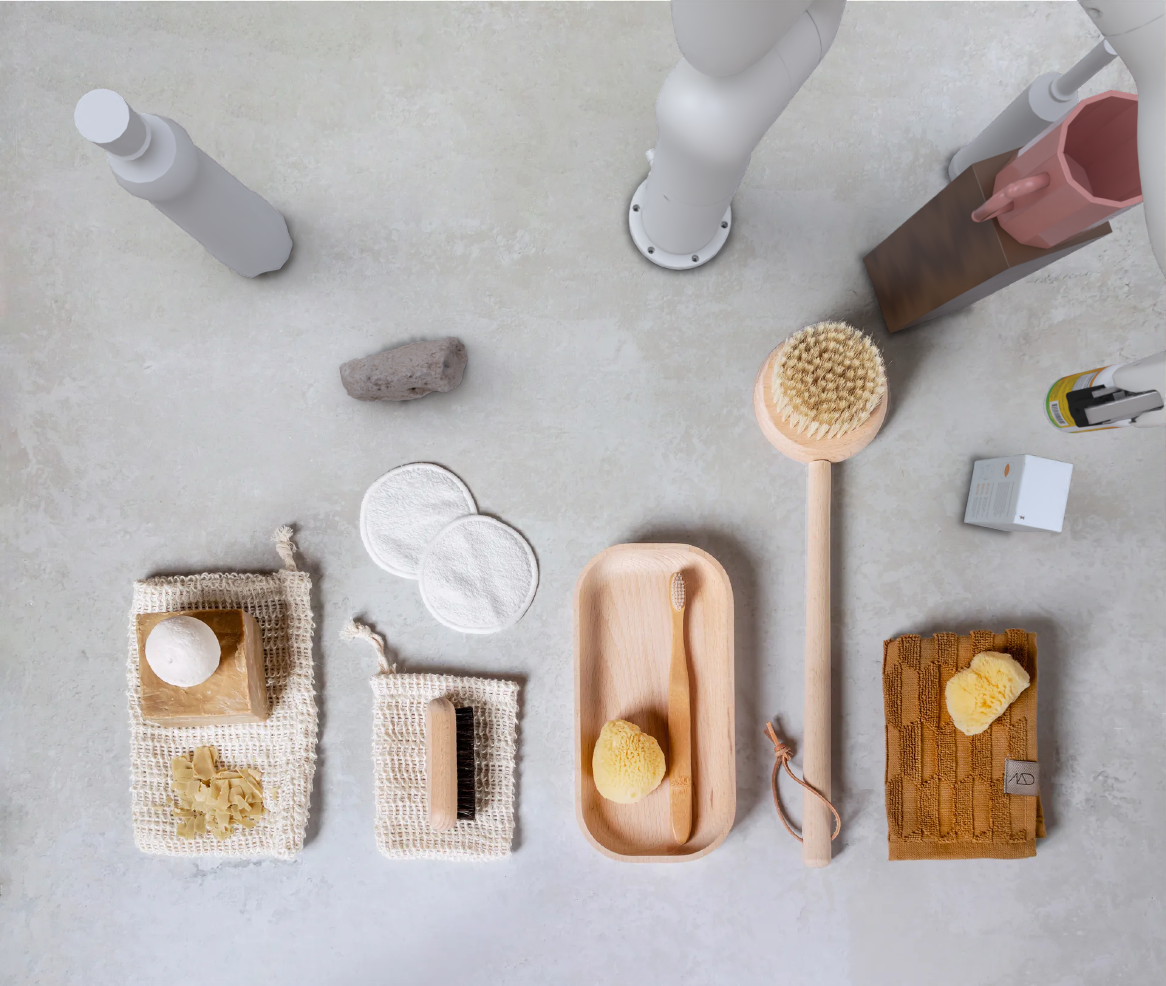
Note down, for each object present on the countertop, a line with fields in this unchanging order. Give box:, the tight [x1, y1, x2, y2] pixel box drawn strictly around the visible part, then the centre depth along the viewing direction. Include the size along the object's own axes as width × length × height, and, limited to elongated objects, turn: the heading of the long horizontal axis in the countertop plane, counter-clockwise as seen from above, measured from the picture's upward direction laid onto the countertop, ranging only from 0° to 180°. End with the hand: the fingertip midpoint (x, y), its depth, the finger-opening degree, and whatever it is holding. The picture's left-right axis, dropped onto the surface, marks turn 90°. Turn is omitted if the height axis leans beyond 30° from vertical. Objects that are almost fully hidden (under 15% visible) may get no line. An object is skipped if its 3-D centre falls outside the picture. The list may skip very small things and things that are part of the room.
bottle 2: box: [947, 37, 1119, 182], centre depth 78 cm, size 5×5×25 cm
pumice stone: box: [339, 336, 468, 402], centre depth 85 cm, size 15×8×10 cm, turn 95°
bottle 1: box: [73, 88, 294, 279], centre depth 75 cm, size 9×9×30 cm
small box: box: [963, 453, 1075, 534], centre depth 85 cm, size 8×6×10 cm
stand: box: [862, 146, 1113, 334], centre depth 78 cm, size 10×10×25 cm
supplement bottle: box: [1042, 362, 1133, 434], centre depth 63 cm, size 5×5×10 cm
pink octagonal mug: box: [971, 89, 1143, 249], centre depth 61 cm, size 9×12×9 cm
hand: (1108, 397), depth 63 cm, fingers closed on supplement bottle, 5 cm apart
